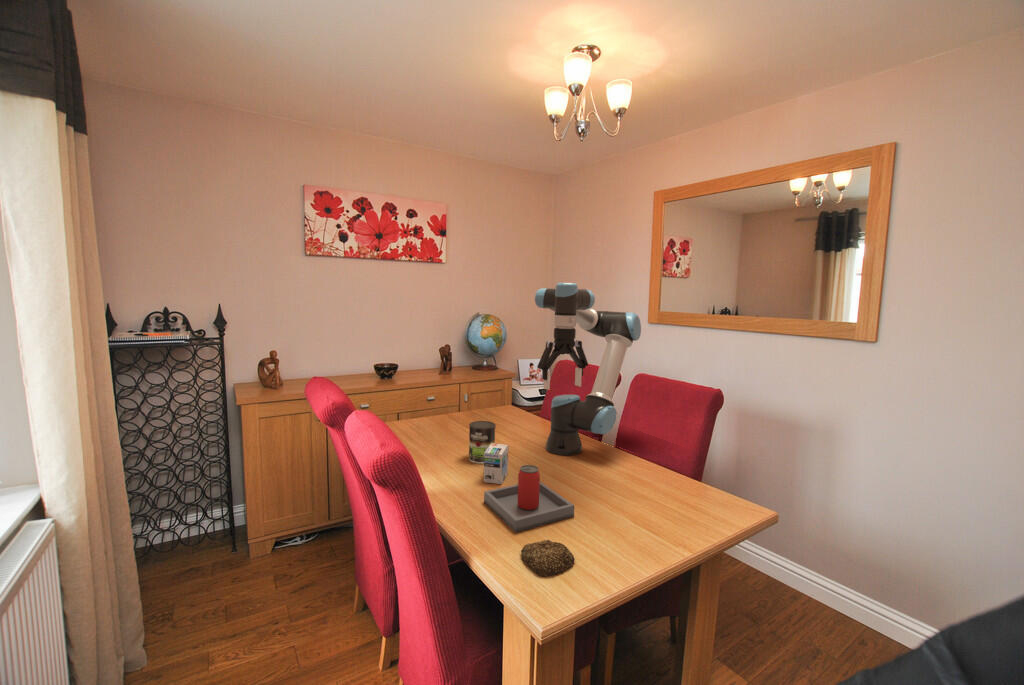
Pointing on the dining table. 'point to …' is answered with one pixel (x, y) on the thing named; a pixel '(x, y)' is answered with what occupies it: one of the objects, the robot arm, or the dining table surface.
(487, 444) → the coffee can
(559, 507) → the tray
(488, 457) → the light bulb box
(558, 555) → the bread roll
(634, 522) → the dining table surface
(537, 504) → the beer can
